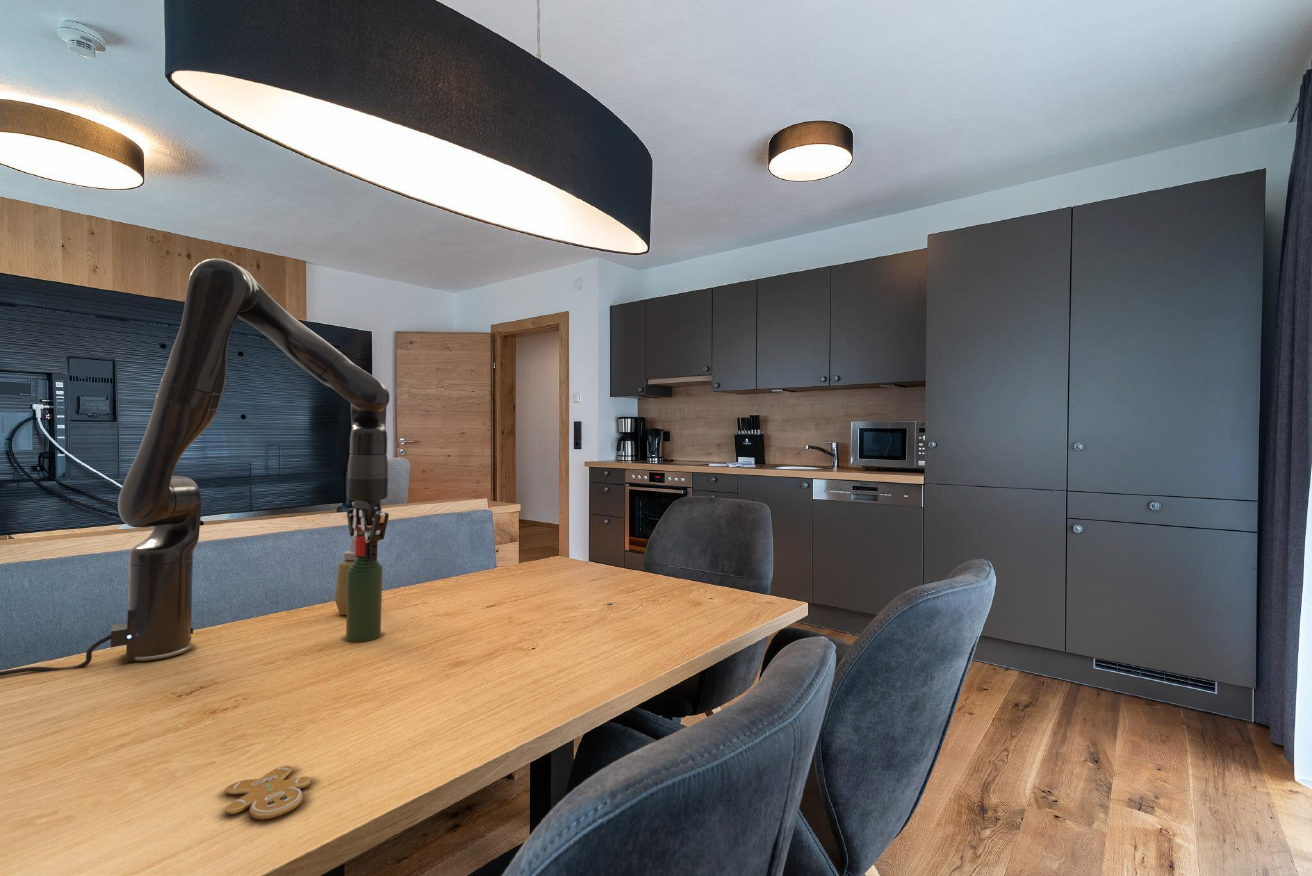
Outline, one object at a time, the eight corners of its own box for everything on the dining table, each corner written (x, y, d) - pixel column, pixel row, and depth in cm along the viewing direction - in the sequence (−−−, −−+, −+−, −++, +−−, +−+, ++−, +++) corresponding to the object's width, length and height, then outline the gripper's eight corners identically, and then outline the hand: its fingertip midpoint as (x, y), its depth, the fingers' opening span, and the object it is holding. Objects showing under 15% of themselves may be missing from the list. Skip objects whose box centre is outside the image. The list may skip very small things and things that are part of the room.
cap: (372, 552, 123) (373, 534, 123) (378, 555, 120) (379, 537, 120) (352, 554, 120) (353, 536, 120) (358, 557, 117) (359, 538, 117)
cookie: (297, 757, 72) (326, 789, 65) (296, 765, 72) (325, 798, 65) (214, 786, 65) (236, 824, 59) (214, 794, 65) (236, 834, 59)
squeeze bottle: (379, 611, 138) (381, 535, 138) (346, 619, 131) (348, 539, 131) (360, 606, 142) (361, 532, 143) (327, 613, 135) (328, 536, 136)
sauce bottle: (350, 644, 115) (353, 543, 116) (342, 635, 120) (345, 539, 120) (384, 637, 119) (387, 540, 120) (375, 629, 124) (378, 536, 125)
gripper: (402, 477, 119) (400, 561, 119) (369, 474, 128) (367, 552, 127) (365, 478, 113) (363, 567, 113) (333, 475, 122) (331, 557, 121)
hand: (366, 558), depth 120 cm, fingers closed on cap, 3 cm apart
